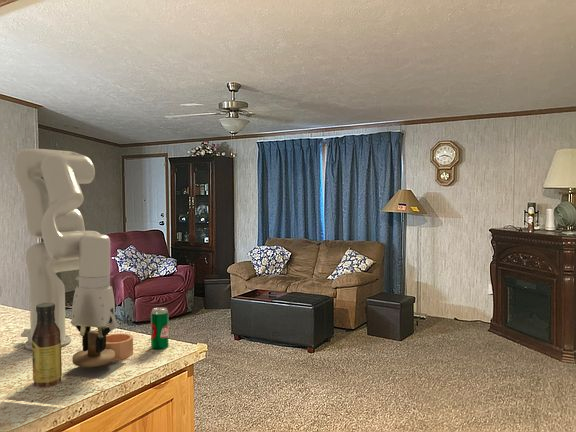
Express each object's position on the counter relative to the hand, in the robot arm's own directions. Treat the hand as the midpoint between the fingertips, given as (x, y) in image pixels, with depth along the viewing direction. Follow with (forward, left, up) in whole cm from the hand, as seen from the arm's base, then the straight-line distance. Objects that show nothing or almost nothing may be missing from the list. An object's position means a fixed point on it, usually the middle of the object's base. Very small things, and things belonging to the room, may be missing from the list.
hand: (94, 349), depth 123 cm
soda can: (+9, +19, -6) cm, 22 cm away
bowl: (0, +10, -5) cm, 12 cm away
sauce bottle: (-5, -11, -6) cm, 13 cm away
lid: (0, 0, -3) cm, 3 cm away
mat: (+1, -1, -5) cm, 5 cm away
